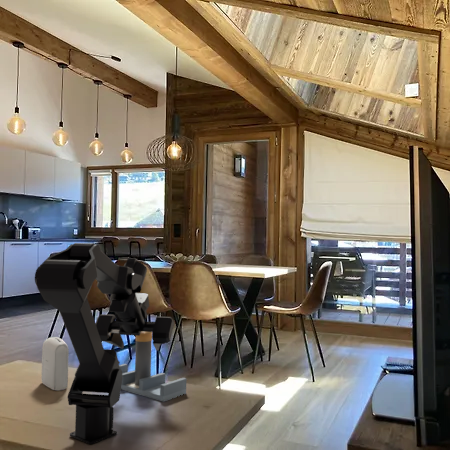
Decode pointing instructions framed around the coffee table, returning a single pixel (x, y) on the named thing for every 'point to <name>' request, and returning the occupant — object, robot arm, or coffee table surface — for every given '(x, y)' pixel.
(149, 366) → the grey cylinder
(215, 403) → the coffee table surface
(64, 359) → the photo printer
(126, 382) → the grey divided tray
